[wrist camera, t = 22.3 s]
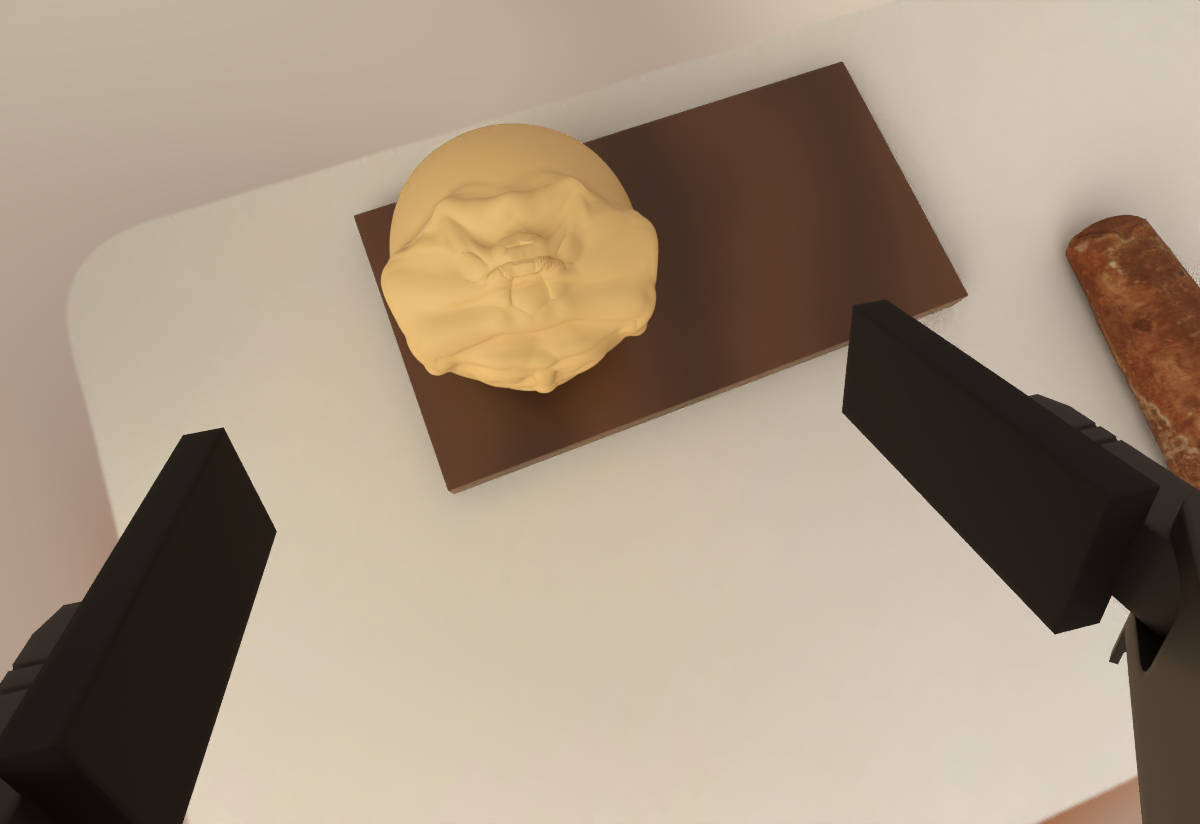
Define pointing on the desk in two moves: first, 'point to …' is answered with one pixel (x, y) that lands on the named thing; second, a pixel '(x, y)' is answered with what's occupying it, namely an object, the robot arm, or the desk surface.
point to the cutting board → (713, 270)
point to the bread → (1148, 328)
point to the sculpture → (517, 259)
